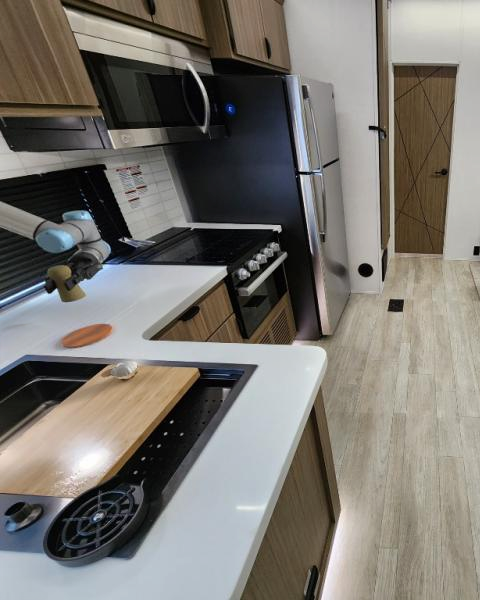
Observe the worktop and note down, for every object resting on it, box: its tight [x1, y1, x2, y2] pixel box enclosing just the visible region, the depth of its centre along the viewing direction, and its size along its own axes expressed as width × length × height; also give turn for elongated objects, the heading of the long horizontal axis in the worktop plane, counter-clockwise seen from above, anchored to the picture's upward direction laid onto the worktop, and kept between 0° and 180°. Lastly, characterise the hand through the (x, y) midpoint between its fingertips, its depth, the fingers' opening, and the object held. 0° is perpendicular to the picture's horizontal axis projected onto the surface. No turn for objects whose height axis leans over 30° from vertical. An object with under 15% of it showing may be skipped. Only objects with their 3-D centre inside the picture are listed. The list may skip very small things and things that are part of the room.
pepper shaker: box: [47, 264, 87, 303], centre depth 105 cm, size 6×6×11 cm
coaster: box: [60, 323, 114, 349], centre depth 109 cm, size 13×13×1 cm
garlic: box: [110, 360, 139, 377], centre depth 91 cm, size 6×5×5 cm
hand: (57, 288), depth 100 cm, fingers closed on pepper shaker, 4 cm apart
